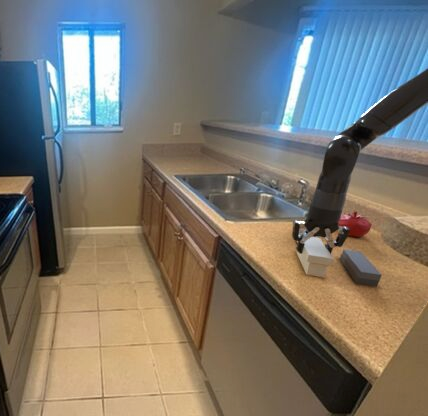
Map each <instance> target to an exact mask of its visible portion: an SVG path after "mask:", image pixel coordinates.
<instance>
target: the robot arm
mask: <svg viewBox="0 0 428 416" xmlns="http://www.w3.org/2000/svg"><path fill="white" fill-rule="evenodd" d="M425 105H428V67H427V68H425V70H423V71H422V72H420V73H419V74H417V75H416V76H414V77H412V78H410V79H408V80H407V81H406V82H404V83H403V84H401V85H399V86H397V87H396V88H395V89H394V90H392V91H391V92H389V93H388V94H386V95H385V96H384V97H383V98H381V99H380V100H379V101H378V102H377V103H375V104H374V105H373V106H371V107H370V108H369V109H368V110H367V111H365V113H363V114H362V115H361V116H360V117H359V118H358V119H357V120H356V121H355V122H353V123H352V124H350V125H349V126H347V128H345V129H344V130H342V131H341V132H339V133H338V134H337V135H336V136H335V137H333V138H331V140H330V141H329V142H328V144H327V146H326V149H325V153H324V157H323V161H322V167H321V172H320V173H319V176H318V180H317V183H316V186H315V189H314V192H313V194H312V198H311V199H310V205H309V208H308V212H307V216H306V219H305V220H304V221H298V220H295V219H294V220H293V221H292V231H291V232H292V233H291V236H292V239H293V241H294V242H295V241H298V243H297V244H296V252H297V251H298V252H299V253H300V254H302V251H303V248H304V245H305V244H304V242H306V241H307V240H308V239H310V238H311V237H312V236H316V237H319V238H324V239H325V241H326V243H325V244H324V245H325V247H326V248H327V249H328V251H329V252H330V254H331V255H332V252H333V248H335V247H338V248H342V247H343V246H344V243H345V242H346V240H347V238H348V236H349V233H350V230H349V229H348V228H347V227H346V226H343V227H342V226H338V222H339V220H340V217H341V216H342V213H343V210H344V207H345V203H346V199H347V194H348V190H349V187H350V184H351V180H352V174H353V171H354V169H355V167H356V164H357V161H358V159H359V156H360V154H361V151H362V150H363V149H364V148H366V147H368V145H371V143H372V142H374V141H375V140H376V139H378V138H380V137H382V136H384V135H386V134H387V133H389V132H391V131H392V130H393V129H395V128H396V127H397V126H399V125H400V124H402V123H403V122H405V121H406V120H407V119H408V118H409V117H411V116H412V115H413V114H415V113H416V112H418V111H419V110H420V109H422V108H423V107H424V106H425ZM302 226H305V227H306V230H305V231H304V232H303V234H302V235H301V236H299V229H301V228H302ZM335 232H338V234H337V236H336V238H335V240H334V238H333V235H332V234H334V233H335Z"/></svg>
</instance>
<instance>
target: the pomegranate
mask: <svg viewBox="0 0 428 416" xmlns="http://www.w3.org/2000/svg"><path fill="white" fill-rule="evenodd" d="M357 214H358V211H357V210H353V212H352V214H351V213H346V212H344V213H343V214H342V215H341V217H340V220H339V222H338V226H342V227H343V226H346V227H347V228H348V229H349V230H350V233H349V235H348V236H350V237H355V238H360V237H364V236H365V235H367V234H368V233H369V232H370V231H371V229H372V222H370V221H369V219H368V218H367V217H365V215H363V214H359V215H357Z"/></svg>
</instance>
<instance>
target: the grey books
mask: <svg viewBox="0 0 428 416" xmlns="http://www.w3.org/2000/svg"><path fill="white" fill-rule="evenodd" d="M339 256H340V257H339V261H340V262H341V264H342V265H343V266H344V268H345V270H346V271H347V272H348V273H349V275H350V276H351V278H352V279H353V280H354V282H355V283H356V284H357V285H364V286H369V287H375V288H377V287H378V285H379V283H380V281H381V279H382V273H381V272H380V271H379V270H378V269H377V268H376V266H375V265H373V263H372V262H371V261H370V260H369V259H368V258H367V256H366V255H365V254H364V253H363V252H362V251H360V250H352V249H345V248H343V249H342V252H341V254H340V255H339Z"/></svg>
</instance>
